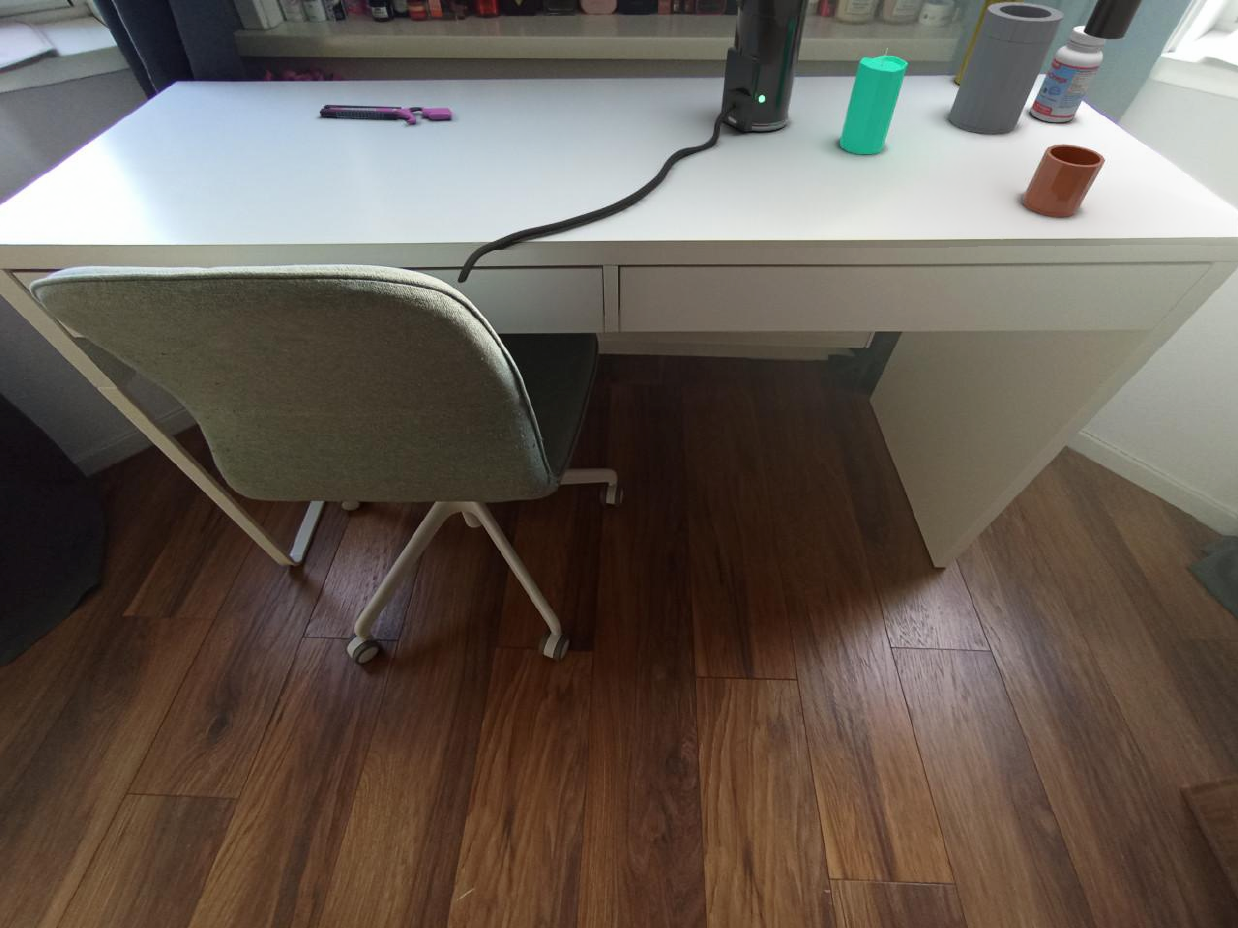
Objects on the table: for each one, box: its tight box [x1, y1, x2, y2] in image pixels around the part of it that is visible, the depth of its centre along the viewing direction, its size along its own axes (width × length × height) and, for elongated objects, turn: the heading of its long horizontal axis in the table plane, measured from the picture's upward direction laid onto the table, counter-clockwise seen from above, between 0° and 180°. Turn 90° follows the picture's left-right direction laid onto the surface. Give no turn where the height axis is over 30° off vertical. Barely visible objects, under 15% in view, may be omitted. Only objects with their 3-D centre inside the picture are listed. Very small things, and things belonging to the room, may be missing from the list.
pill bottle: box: [1030, 25, 1108, 123], centre depth 93 cm, size 6×6×11 cm
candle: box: [839, 47, 909, 155], centre depth 86 cm, size 6×6×12 cm
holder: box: [1021, 143, 1106, 218], centre depth 76 cm, size 6×6×6 cm
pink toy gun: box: [319, 104, 453, 124], centre depth 97 cm, size 21×1×5 cm
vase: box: [954, 0, 1024, 86], centre depth 102 cm, size 6×6×14 cm
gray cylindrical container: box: [948, 2, 1065, 135], centre depth 91 cm, size 9×9×14 cm
